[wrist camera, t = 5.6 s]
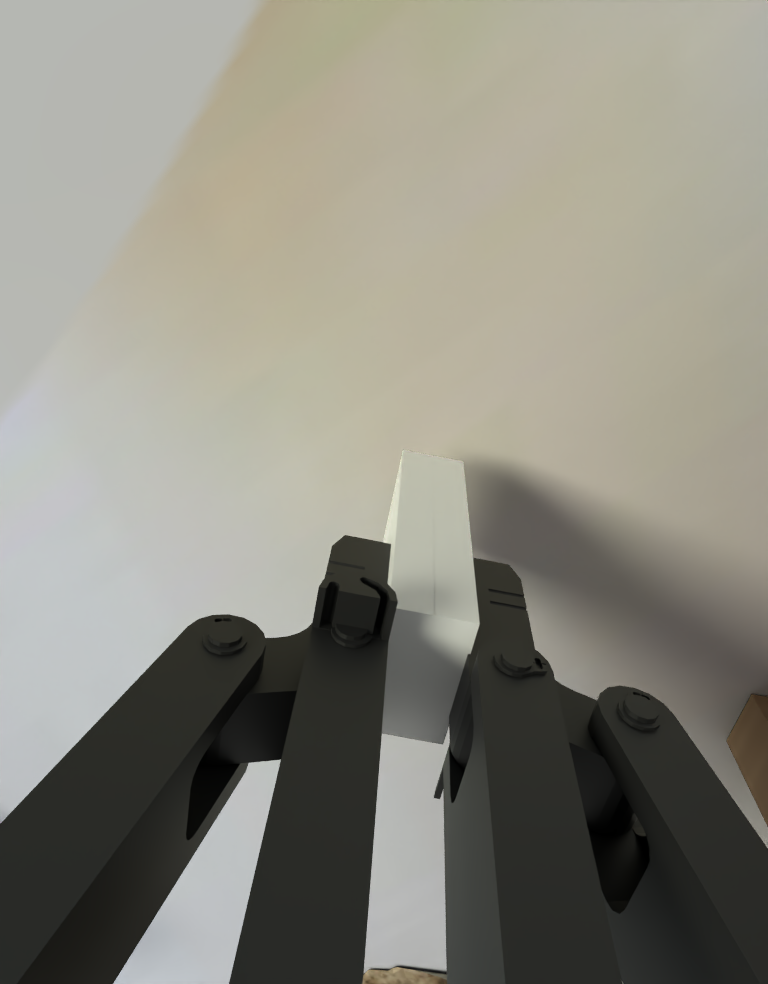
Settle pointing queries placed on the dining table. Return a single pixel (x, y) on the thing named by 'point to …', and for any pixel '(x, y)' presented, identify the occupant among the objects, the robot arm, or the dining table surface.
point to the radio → (403, 977)
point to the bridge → (753, 749)
